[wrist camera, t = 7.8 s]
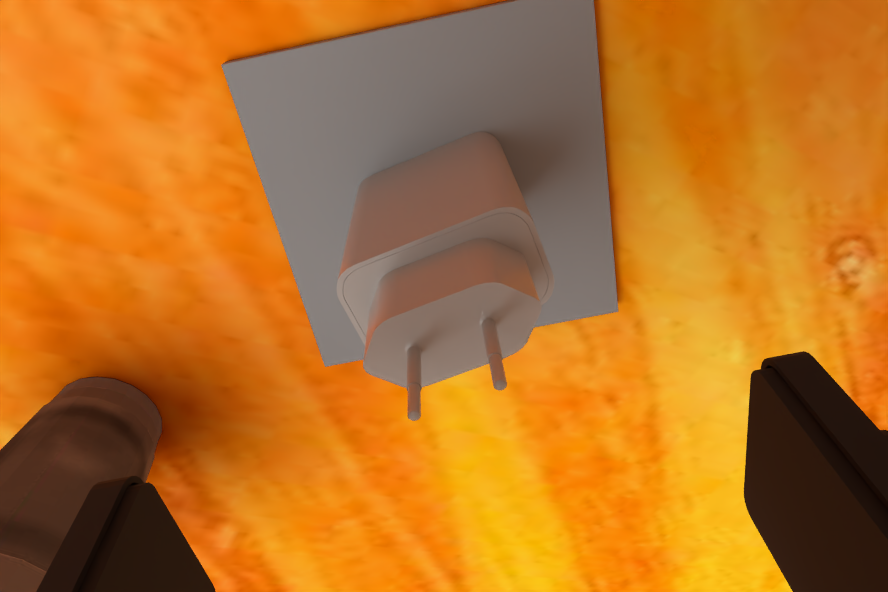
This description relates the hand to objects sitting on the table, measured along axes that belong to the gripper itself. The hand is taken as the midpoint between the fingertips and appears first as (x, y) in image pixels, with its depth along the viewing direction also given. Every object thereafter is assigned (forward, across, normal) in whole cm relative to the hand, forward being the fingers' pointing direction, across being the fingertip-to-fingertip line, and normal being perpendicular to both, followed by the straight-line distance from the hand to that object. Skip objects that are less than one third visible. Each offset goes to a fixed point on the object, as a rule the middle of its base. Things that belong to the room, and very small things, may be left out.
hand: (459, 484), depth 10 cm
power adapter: (+15, 0, +1) cm, 15 cm away
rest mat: (+15, 0, +1) cm, 15 cm away
